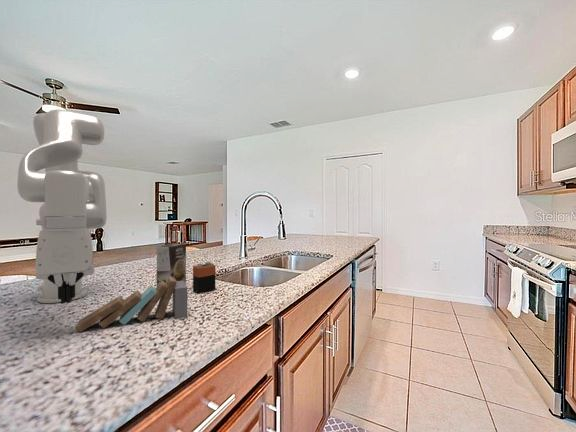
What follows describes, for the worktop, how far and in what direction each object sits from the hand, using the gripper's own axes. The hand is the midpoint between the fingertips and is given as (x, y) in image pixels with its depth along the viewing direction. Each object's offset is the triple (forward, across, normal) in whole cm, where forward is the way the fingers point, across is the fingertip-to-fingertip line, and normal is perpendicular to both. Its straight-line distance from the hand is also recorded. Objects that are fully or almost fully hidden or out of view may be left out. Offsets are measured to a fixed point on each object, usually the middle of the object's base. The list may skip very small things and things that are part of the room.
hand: (66, 301), depth 64 cm
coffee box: (+7, +26, +26) cm, 38 cm away
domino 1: (+6, +2, 0) cm, 7 cm away
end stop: (+7, +25, -1) cm, 26 cm away
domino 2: (+6, +7, 0) cm, 9 cm away
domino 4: (+7, +15, 0) cm, 17 cm away
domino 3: (+6, +11, 0) cm, 13 cm away
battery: (+7, +36, +18) cm, 40 cm away
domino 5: (+7, +20, 0) cm, 21 cm away
